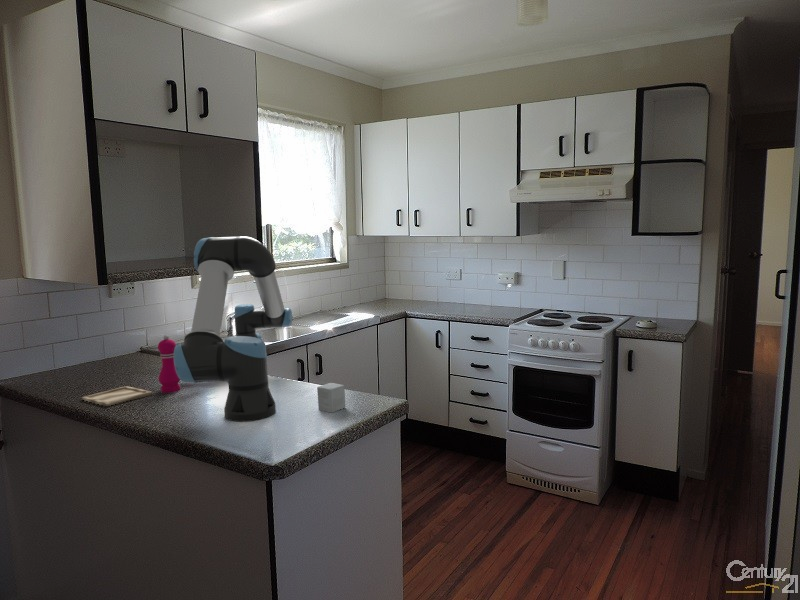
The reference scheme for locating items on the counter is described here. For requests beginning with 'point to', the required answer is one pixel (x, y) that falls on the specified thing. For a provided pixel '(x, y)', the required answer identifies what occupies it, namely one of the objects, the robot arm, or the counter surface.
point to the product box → (331, 397)
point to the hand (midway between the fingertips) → (174, 358)
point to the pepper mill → (168, 366)
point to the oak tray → (117, 396)
